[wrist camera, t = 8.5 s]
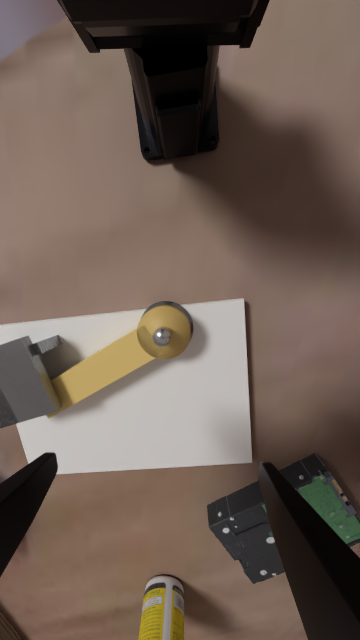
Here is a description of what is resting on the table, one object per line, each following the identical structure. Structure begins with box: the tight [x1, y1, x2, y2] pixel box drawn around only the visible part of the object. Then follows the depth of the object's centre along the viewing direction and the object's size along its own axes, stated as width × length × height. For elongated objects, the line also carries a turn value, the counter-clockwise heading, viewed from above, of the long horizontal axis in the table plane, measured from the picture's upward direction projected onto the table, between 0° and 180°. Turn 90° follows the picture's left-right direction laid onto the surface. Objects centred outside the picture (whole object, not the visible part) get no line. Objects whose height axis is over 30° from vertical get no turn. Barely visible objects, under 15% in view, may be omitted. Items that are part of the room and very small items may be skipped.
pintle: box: [141, 301, 193, 347], centre depth 16 cm, size 5×5×3 cm
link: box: [46, 305, 191, 419], centre depth 17 cm, size 16×5×2 cm, turn 121°
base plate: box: [0, 298, 252, 474], centre depth 20 cm, size 18×26×1 cm
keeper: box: [0, 335, 63, 428], centre depth 18 cm, size 6×7×4 cm
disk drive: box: [207, 454, 360, 584], centre depth 21 cm, size 10×3×15 cm
